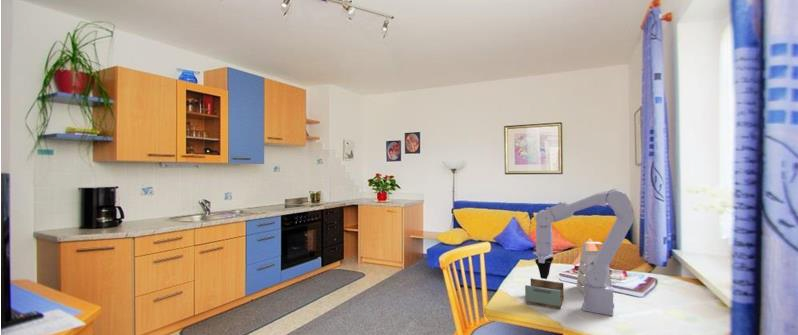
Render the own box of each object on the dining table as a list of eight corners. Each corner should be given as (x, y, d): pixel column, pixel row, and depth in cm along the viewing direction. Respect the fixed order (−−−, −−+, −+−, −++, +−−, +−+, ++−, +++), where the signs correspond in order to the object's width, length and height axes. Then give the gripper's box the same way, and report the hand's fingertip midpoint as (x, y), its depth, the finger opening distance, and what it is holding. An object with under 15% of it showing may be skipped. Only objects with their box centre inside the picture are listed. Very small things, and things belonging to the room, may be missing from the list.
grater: (576, 286, 155) (576, 239, 154) (602, 287, 153) (602, 240, 153) (585, 295, 144) (584, 245, 144) (613, 296, 143) (613, 245, 142)
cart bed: (563, 299, 140) (563, 282, 140) (560, 309, 131) (560, 291, 131) (531, 294, 146) (531, 278, 146) (526, 303, 137) (525, 286, 137)
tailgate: (560, 305, 131) (560, 290, 131) (559, 306, 130) (559, 291, 130) (525, 299, 137) (525, 285, 137) (525, 300, 136) (525, 286, 136)
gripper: (536, 237, 147) (536, 270, 147) (529, 244, 134) (530, 281, 134) (555, 238, 143) (555, 273, 143) (550, 246, 130) (550, 284, 131)
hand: (544, 277), depth 138 cm, fingers open, 3 cm apart
